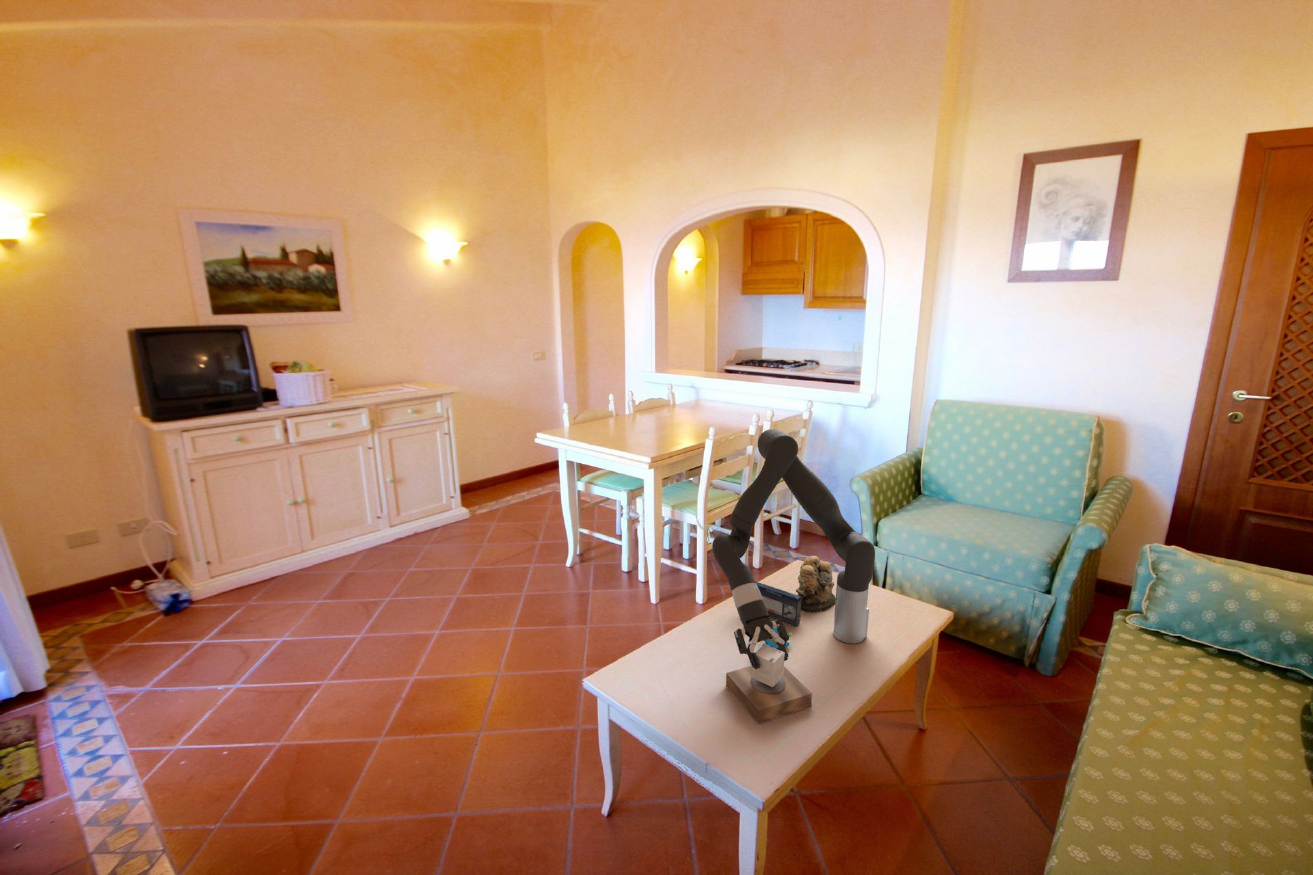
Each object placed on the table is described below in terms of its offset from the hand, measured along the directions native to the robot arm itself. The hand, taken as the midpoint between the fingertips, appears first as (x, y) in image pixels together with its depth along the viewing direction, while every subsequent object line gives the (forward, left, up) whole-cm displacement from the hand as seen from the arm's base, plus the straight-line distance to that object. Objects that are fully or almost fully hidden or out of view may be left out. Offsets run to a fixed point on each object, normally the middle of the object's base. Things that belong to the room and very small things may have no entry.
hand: (771, 664), depth 151 cm
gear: (-14, -19, -11) cm, 26 cm away
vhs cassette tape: (-24, -34, -11) cm, 43 cm away
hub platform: (0, -1, -10) cm, 10 cm away
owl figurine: (-42, -36, -11) cm, 56 cm away
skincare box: (0, -1, -5) cm, 5 cm away
